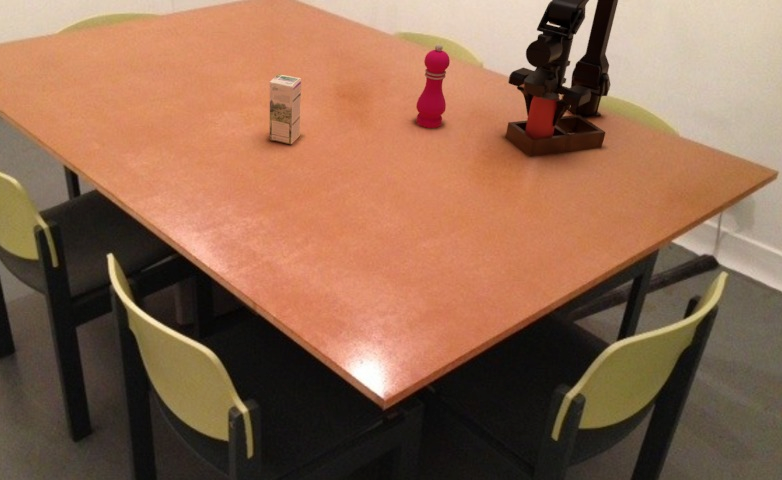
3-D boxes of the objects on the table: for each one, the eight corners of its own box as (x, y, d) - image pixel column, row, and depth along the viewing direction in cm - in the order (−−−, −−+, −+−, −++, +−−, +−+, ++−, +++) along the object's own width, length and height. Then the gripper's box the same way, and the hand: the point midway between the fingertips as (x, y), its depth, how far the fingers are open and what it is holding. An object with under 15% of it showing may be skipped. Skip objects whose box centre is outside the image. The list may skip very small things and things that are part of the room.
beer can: (520, 135, 188) (529, 88, 182) (546, 135, 189) (556, 88, 182) (527, 147, 183) (538, 99, 176) (554, 147, 184) (565, 99, 177)
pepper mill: (441, 130, 190) (453, 50, 179) (412, 126, 191) (422, 47, 180) (444, 119, 196) (455, 41, 185) (416, 115, 197) (425, 37, 186)
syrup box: (300, 136, 183) (302, 76, 175) (291, 145, 179) (292, 85, 170) (278, 131, 185) (279, 72, 176) (268, 141, 180) (268, 81, 172)
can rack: (575, 129, 196) (578, 114, 193) (601, 147, 187) (605, 132, 185) (505, 137, 189) (508, 122, 187) (529, 156, 181) (532, 140, 178)
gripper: (501, 52, 174) (489, 117, 183) (574, 76, 164) (558, 143, 173) (527, 43, 181) (515, 105, 190) (599, 65, 171) (583, 130, 180)
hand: (541, 121), depth 183 cm, fingers closed on beer can, 6 cm apart
